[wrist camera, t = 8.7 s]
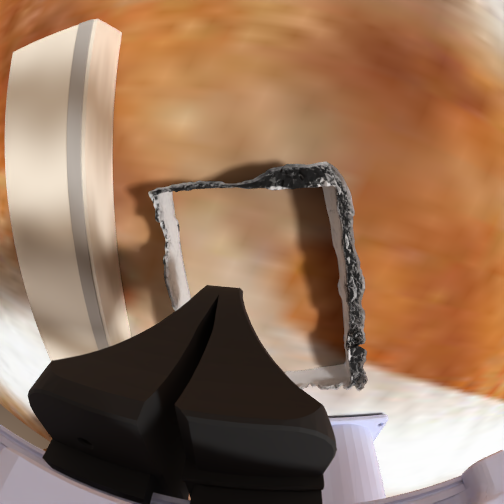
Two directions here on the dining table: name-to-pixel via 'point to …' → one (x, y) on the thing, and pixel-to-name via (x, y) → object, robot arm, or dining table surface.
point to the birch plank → (66, 186)
